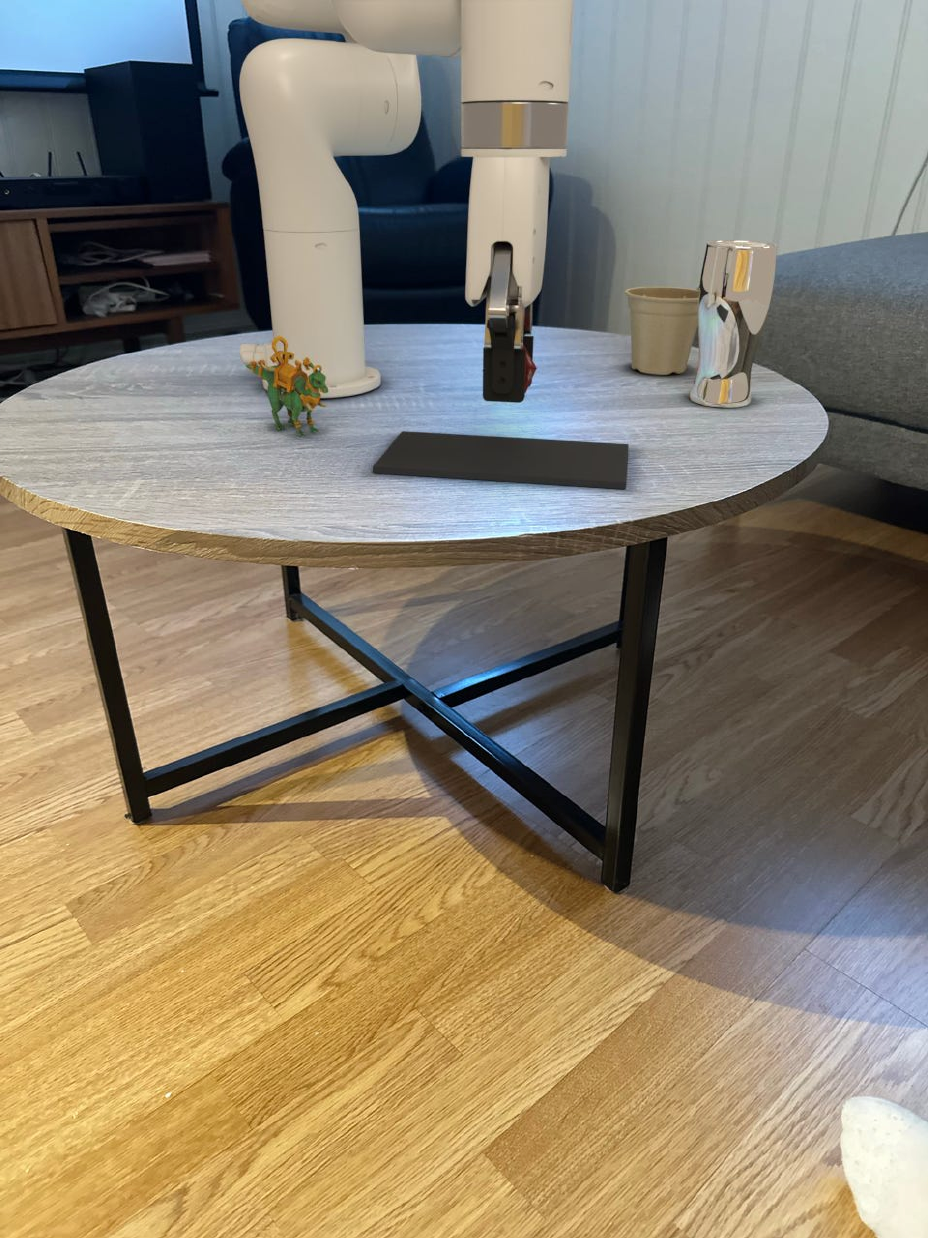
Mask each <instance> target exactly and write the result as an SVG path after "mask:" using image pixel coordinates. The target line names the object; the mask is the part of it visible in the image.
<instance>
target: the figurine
mask: <svg viewBox="0 0 928 1238" xmlns="http://www.w3.org/2000/svg"><path fill="white" fill-rule="evenodd" d="M272 341H273V342H272V349H273V350H274V352H275V354H273V355H272V356H271V357H270V359H271V361H272V362H273V363H276V362H277V361H278V362H279V363H278V362H277V364H278V365H275V366H270V367H268V366H265V361H264V360H260V361H258V364H257V362H256V361H250V364H244V366H245V367H246V368H247V369H248V370H249V371H250V372H251V373H253V374H254V375H257V376H258V377H259V378H260V379H261V380H262V379H263V380H266V381H267V383H268V389H267V390H266V392H267V393H266V394H267V397H268V398H267V399H268V402H269V404H270V407H271V414H272V418H273V420H274V423H275V424H274V427H276V429H277V431H281V430H284V429H286V428H287V425H285V424H284V425H283V424H282V422H281V421H280V418H279V415H278V413H279V412H280V411H281V410H283V408H284V407H285V410H286V411H287V414H288V417H289V418H288V422H287V424H289V425H291V426H292V427H295V429H296V431H297V434H298V436H299V437H301V436H302V435H303V436H306V435H307V433H306V432H303V431H302V429H301V427H302V424H301V421H300V420H299V416H300V415H301V413H306V418H305V419H306V421H307V422H306V424H307V425H308V427H309V430H310V431H311V432H312V433H317V432H319V431H320V429H318V428H315V427H314V420H313V417H312V416H311V415H312V412H313V411H314V410H315V409H316V407H317V406H319V407H321V408H328V407H329V405H327V404H325V403H324V402H322V401H321V399H322V398H321V393H319V389H320V392H322V393H328V388H327V386H326V384H325V379H326V376H325V375H323V374H322V373H321V370H322V367H321V366H320V365H316V366H314V365H313V364H312V362H310V360H309V358H308V357H305V359H303V365H304V366H305V369H306V370H310V368H309V367H311V368H312V369H313V373H312V374H310V375H309V376H307V374H306V373H305V372H304V371H302V366H301V365H302V363H300V362H299V361H298V360H295V365H296V368H295V367H294V366H292V365H290V364H289V363H288V362H289V359H290V360H292V359H293V358H294V354H293V353H291V352H287V349H288V343H287V341H286V340H285V338H283V337H281V336H277V337H275V338H274V339H273V338H272ZM278 341H281V342H282V343H283V344H284V351H278V352H277V349H276V343H277V342H278ZM281 354H283V355H282V356H281ZM275 358H276V359H277V360H276V359H275ZM251 364H252V365H251ZM308 366H309V367H308ZM317 367H319V371H318V369H317Z"/></svg>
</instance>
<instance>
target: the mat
mask: <svg viewBox="0 0 928 1238" xmlns="http://www.w3.org/2000/svg"><path fill="white" fill-rule="evenodd" d="M629 447H630V446H629V443H619V442H618V443H615V442H601V441H600V442H599V441H583V440H581V441H580V440H566V439H546V438H530V437H529V438H528V437H514V436H513V437H511V436H494V435H476V434H460V433H459V434H458V433H443V432H442V433H441V432H426V431H425V432H424V431H423V432H422V431H407V430H402V431H401V432H400V433H399V435H398V436H397V437H396V438H395V439H394V440H393V441H392V443H391V444H390V445H389V446H388V447H387V448H386V450H385V451H384V452H383V454H382V455H381V456H380V457H379V458H378V459H377V461H375V463H374V464H373V465H372V472H373V474H384V475H385V474H386V475H400V476H401V475H402V476H414V477H415V476H416V477H428V478H429V477H431V478H445V479H459V480H460V479H461V480H462V479H463V480H475V481H476V480H477V481H494V482H508V483H509V482H510V483H523V484H536V485H537V484H538V485H553V486H555V485H556V486H571V487H584V488H585V487H586V488H598V489H599V488H601V489H614V490H615V489H616V490H617V489H618V490H626V489H627V481H628V480H627V478H628V462H629Z"/></svg>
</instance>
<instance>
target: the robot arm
mask: <svg viewBox="0 0 928 1238" xmlns="http://www.w3.org/2000/svg"><path fill="white" fill-rule="evenodd" d="M240 2H241V5H242V7H243V8H244V10H245V12H246V13H247V15H248V16H249V17H250V18H251V19H252V20H254V21H255V22H257V23H259V24H261V25H264V26H266V27H272V28H275V29H283V30H291V31H304V32H317V33H327V34H329V33H331V34H340V35H342V36H343V37H344V40H345V42H343V41H336V40H326V39H325V40H323V39H312V38H311V39H310V38H295V37H293V38H277V39H272V40H268V41H265V42H263V43H260V44H259V45H257V46H256V47H254V48H252V50H251V51H250V52H249V53H248V54H247V55H246V57H245V59H244V61H243V62H242V66H241V69H240V73H239V86H238V87H239V96H240V104H241V108H242V113H243V118H244V122H245V125H246V130H247V133H248V137H249V141H250V145H251V149H252V155H253V159H254V165H255V170H256V177H257V184H258V190H259V201H260V210H261V220H262V229H263V241H264V250H265V260H266V261H265V262H266V273H267V282H268V294H269V305H270V306H269V307H270V315H271V328H272V337H273V338H272V340H271V341H269V342H268V343H266V344H260V343H248V342H247V343H245V342H244V343H241V344H240V346H239V357H240V360H241V362H242V364H244V365H248V364H250V361H256V362H257V365H259V364H258V361H260V360H264V361H265V366H268V367H270V366H275V365H278V364H277V362H278V361H277V362H276V363H273V362H272V361H271V359H270V357H271V356H272V355H273V354H275V352H274V350H273V349H272V342H273V339H274V338H275V337H277V336H281V337H283V338H285V340H286V341H287V343H288V349H287V352H291V353H293V354H294V358H293V359H292V360H290V359H289V362H288V363H289V364H290V365H292V366H294V367H295V368H296V365H295V360H298V361H299V362H300V363H302V365H301V366H302V371H304V372H305V373H306V374H307V376H309V375H310V374H312V373H313V369H312V368H311V367H309V366H308V367H309V368H310V370H306V369H305V366H304V365H303V359H305V357H308V358H309V360H310V362H312V364H313V365H314V366H316V365H320V366H321V367H322V370H321V373H322V374H323V375H325V376H326V379H325V384H326V386H327V388H328V393H322V392H320V389H319V393H321V398H320V399H334V398H335V399H336V398H344V397H351V396H356V395H362V394H365V393H368V392H371V391H373V390H375V389H377V388H378V387H380V385H381V379H382V378H381V373H380V371H379V370H378V369H376V368H374V367H371V366H368V365H366V347H365V346H366V345H365V321H364V300H363V280H362V279H363V278H362V255H361V254H362V253H361V236H360V235H361V234H360V233H361V231H360V215H359V208H358V203H357V199H356V197H355V193H354V192H353V190H352V187H351V186H350V184H349V182H348V181H347V178H346V176H344V173H342V170H341V168H340V167H339V166H338V164H337V162H336V160H335V157H341V156H342V157H343V156H344V157H345V156H349V157H350V156H386V155H387V156H389V155H394V154H398V153H401V152H403V151H404V150H406V149H407V148H408V147H409V146H410V145H411V144H413V141H414V140H415V138H416V136H417V134H418V131H419V127H420V123H421V117H422V90H421V81H420V73H419V66H418V65H419V64H418V58H417V56H428V57H440V58H443V59H444V58H445V59H460V86H461V87H460V89H461V90H460V103H461V105H460V106H461V107H460V108H461V109H460V111H461V112H460V147H461V148H460V158H461V157H463V158H472V164H471V172H470V183H469V196H468V211H467V235H466V238H467V239H466V262H465V263H466V264H465V265H466V266H465V285H464V286H465V288H464V289H465V290H464V294H465V295H464V299H465V302H466V303H467V304H468V305H469V306H470V307H476V306H478V305H479V304H480V303H481V302H482V301H483V300H486V301H485V321H484V322H485V323H484V347H483V348H482V350H483V351H482V399H483V400H484V401H485V402H494V403H495V402H497V403H514V404H515V403H516V404H517V403H518V404H519V403H522V402H523V401H524V399H525V397H526V393H525V370H526V350H527V351H528V353H529V355H530V357H531V359H532V360H533V361H534V335H532V333H533V302H534V301H535V300H536V299H537V297H538V295H539V294H540V292H541V291H542V287H543V279H544V273H545V272H544V271H545V262H546V250H547V249H546V248H547V235H548V218H549V194H550V167H551V165H550V164H551V158H566V157H567V152H568V151H567V150H568V149H567V147H568V135H569V134H568V132H569V131H568V130H569V111H570V110H569V109H570V104H569V103H570V91H571V69H572V67H571V66H572V50H573V49H572V48H573V26H574V9H575V8H574V6H575V0H240ZM485 298H486V299H485ZM522 344H524V346H525V348H522ZM276 349H277V352H278V351H284V344H283V343H282V342H281V341H278V342H277V343H276ZM282 355H283V354H281V356H282ZM275 359H276V358H275ZM276 360H277V359H276ZM278 363H279V362H278ZM251 365H252V364H251ZM317 369H318V371H319V367H317ZM261 380H262V381H261V382H262V387H263V389H264V390H266V391H267V389H268V383H267V381H266V380H263V379H262V378H261ZM532 383H533V379H532V380H531V382H530V384H529V386H528V388H530V387H531V385H532Z"/></svg>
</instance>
